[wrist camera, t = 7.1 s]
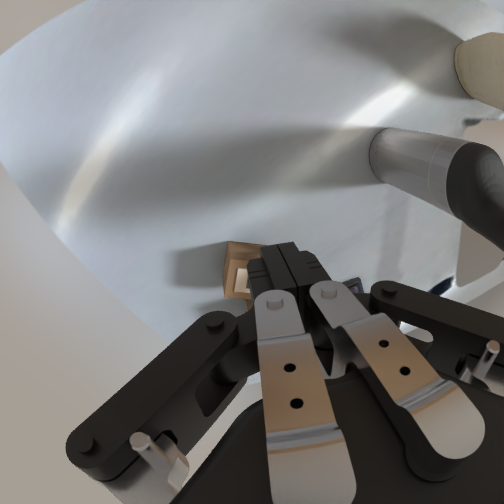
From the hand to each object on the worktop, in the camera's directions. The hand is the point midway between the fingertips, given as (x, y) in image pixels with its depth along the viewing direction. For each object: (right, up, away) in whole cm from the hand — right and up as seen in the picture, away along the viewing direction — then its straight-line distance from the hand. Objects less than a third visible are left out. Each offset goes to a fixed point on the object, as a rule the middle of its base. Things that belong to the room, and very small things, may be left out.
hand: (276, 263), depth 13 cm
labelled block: (-2, -1, +31) cm, 31 cm away
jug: (+42, +36, +20) cm, 59 cm away
